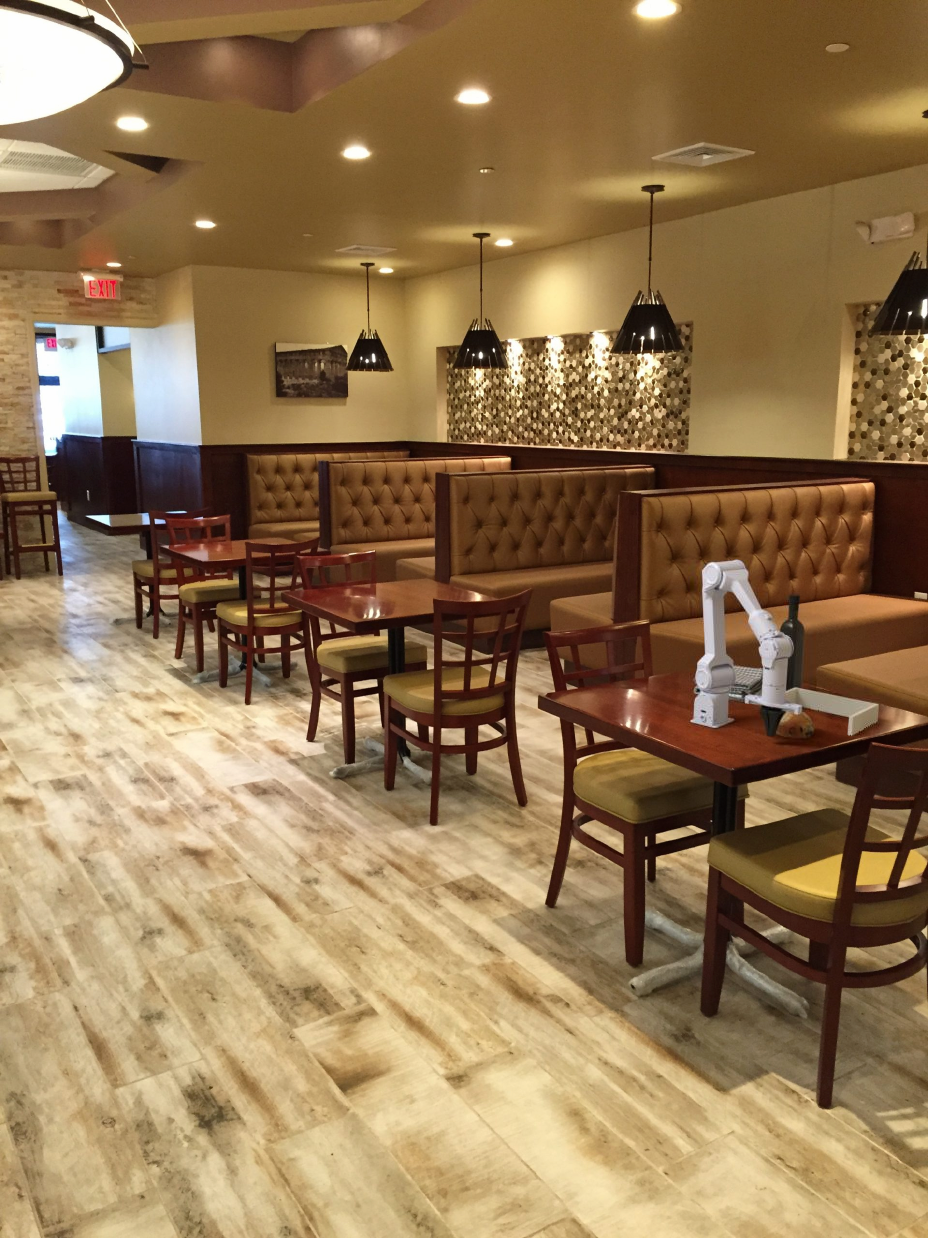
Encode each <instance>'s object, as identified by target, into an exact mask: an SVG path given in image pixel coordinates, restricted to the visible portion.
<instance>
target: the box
mask: <svg viewBox="0 0 928 1238" xmlns="http://www.w3.org/2000/svg"><path fill="white" fill-rule="evenodd" d="M785 700H786V701H789V702H792V703H795V704H798V705H802V708H806V709H809V708H810V710H814V711H818V710H819V711H818V712H823V713H827V714H834V715H838V716H842V717H847V718H848V726H847V735H848V736H850V735H851V737H852V736H854V735H856V734H858V733H860V732H861V731H863V730H865V729H867V728H869V727H871V726H872V725H871V724H873V723H875V724H876V722H877V723H878V720H879V707H880V706H879V705H880V704H879V703H876V702H875V703H874V702H870V701H864V700H860V699H856V698H855V699H854V698H850V697H845V696H840V695H834V694H830V693H825V692H821V691H815V690H811V689H807V688H806V689H805V688H802V687H801V688H796V687H795V688H792V689H790V690H788V691H786V696H785ZM870 725H871V726H870ZM873 725H874V724H873ZM868 726H869V727H868ZM866 727H867V728H866ZM864 728H865V729H864ZM859 731H860V732H859Z"/></svg>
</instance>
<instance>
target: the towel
mask: <svg viewBox="0 0 928 1238" xmlns="http://www.w3.org/2000/svg"><path fill="white" fill-rule="evenodd" d="M715 666H716V665H715ZM734 669H735V671H736V681H735V683H734V685H732V686H731V690H729V700H728V701H734V702H735V701H736V702H740V703H741V702H742V703H745V696H746V695H749V694H750V695H756V696H762V682H763V667H762V668H761V667H760V668H759V667H757V668H756V667H750V666H749V667H747V666H739V665H734ZM693 682H694V685H696V686H695V687H694V688H693V689H694V690H693V694H694V695H696V696H698V695H699V694H700V693H701V690H700V689H699V687H698V685H697V683H696V676H695V677H694V678H693Z"/></svg>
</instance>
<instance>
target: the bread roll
mask: <svg viewBox="0 0 928 1238" xmlns="http://www.w3.org/2000/svg"><path fill="white" fill-rule="evenodd" d="M814 731H815V724H814V722H813V720H812V718H811V717H810V715H808V714H807V713H806V712H804V711H802V713H801V714H798V715H797V714H794V713H792V712H788V711H786V713H785V714H784V716H783V718H782V719H781V721H780V723H779V726H778V728H777V732H776V735H779V736H781V737H784V738H788V737H789V739H794V738H795V739H800V740H802V739H809V738H811V737H812V736H813V735H814Z"/></svg>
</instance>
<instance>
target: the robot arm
mask: <svg viewBox="0 0 928 1238" xmlns="http://www.w3.org/2000/svg"><path fill="white" fill-rule="evenodd" d="M701 573H702V589H701V592H702V612H703V613H702V614H703V633H704V655H703V656H702V657H701V658H700V659H699V660H698V662H697V663H696V664H697V665H696V666H697V668H696V672H695V677H696V683H697V685H696V686H698V687H699V689H700V690H701V693H700V694H699V695H696V697H695V699H694V702H693V703H694V704H693V718H692V719H691V720H690V723H693V724H697V725H700V726H706V727H710V728H713V729H718V728H720V727H722V726H725V725H727V724H730V723H732V722H734V721H735V719H734V718H731V717H729V701H730V700H729V690H731V686H732V685H734V683H735V681H736V671H735V669H734V666H735V665H734V659H732V658H731V657H730V656H729V655H728V654H727V645H726V624H725V620H726V619H725V601H724V596H725V595H726V594H727V593H728V592H730V593H733V594H734V595H735V596H736V599H737V600H738V601H739V603H740V604H741V606H742V607H743V609H744V610H745V612H746V613H747V615H748V622H747V623H748V625H749V627H750V629H751V630H752V632H753V634H754V636H755V637H756V639H757V641H758V643H759V645H760V646H758V652H759V656H760V657H761V664H762V669H763V682H762V696H756V695H750V694H749V695H746V696H745V702H744V703H745V704H749V705H750V704H752V705H756V706H760V708H759V709H758V713H759V714H760V716H761V719H762V721H763V724H764V727H765V731H766V736H767V737H769V738H770V737H771V738H772V737H775V736H776V735H777V734H776V732H777V728H778V726H779V723H780V721H781V719H782V718H783V716H784V714H785V713H786V711H788V712H792V713H794V714H797V715H798V714H801V713H802V712H803V707H802V705H798V704H795V703H792V702H789V701H786V700H785V696H786V680H787V664H788V658H789V657H790V656H791V655H792V654H793V651H794V646H793V642H792V640H791V638H790V637H789V636H787V635H784V633H783V632H780V628H779V626H778V625H777V623H776V622H775V620H774V619H773V616H772V614H771V613H770V611H767V610H764V609H762V607H761V605H760V603H759V601H758V599H757V597H756V595H755V593H754V591H753V588H752V587H751V584H750V582H749V574H750V573H749V570H748V569H747V567H746V565H745V563H744V562H743V561H742V560H740V559H734V560H728V561H717V562H714V561H712V562H708V563H707V564H706V565H705V567H704V568H703V569H702V570H701ZM715 665H716V666H715Z"/></svg>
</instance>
